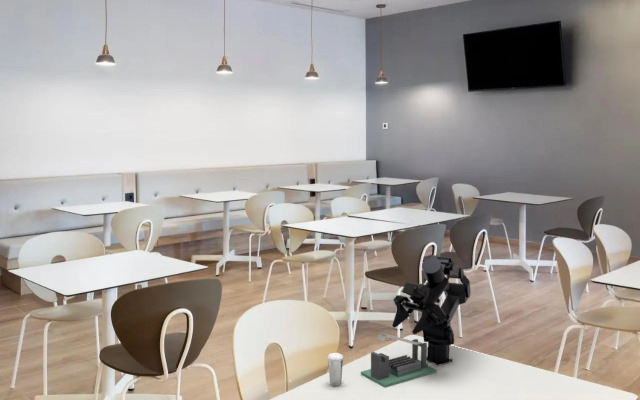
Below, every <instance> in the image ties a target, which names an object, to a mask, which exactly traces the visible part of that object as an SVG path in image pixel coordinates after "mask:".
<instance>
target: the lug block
mask: <svg viewBox="0 0 640 400" xmlns="http://www.w3.org/2000/svg"><path fill="white" fill-rule="evenodd" d="M389 360H390V356H389V355H386V354H384V353H382V352H380V353H377V352H375V351H372V352H370V369H371V376H372V377H374V378H376V379H378V380H380V379H384V378H387V377H389Z"/></svg>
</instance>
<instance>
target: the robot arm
mask: <svg viewBox="0 0 640 400" xmlns="http://www.w3.org/2000/svg"><path fill="white" fill-rule="evenodd" d="M421 268H422V271H423V275H424V277H425V280H426V281H427V282H425V284H423V283H419V284H418V285H417V284H414V283H411V282H407V281H406V282H405V283H404V286H403V289H402V291H401V293H403V294H406V295H409V298H408V297H407V296H405V295H401V294H398V295H396V296H395V297H394V298H393V301H392V302H394V305H395V306H396V310H395V311H396V312H395V314H394V315H395V316H394V319H393V322H392V325H391V326H392V327H393V328H394V329H395V328H397V327H398V326H399V325H401V324H402V323H403V322H405V321H406V320H407V319H408V318H410V317H411V313H413V312H414V311H417V312H420V313H421V316H420V318H419V320H418V321H417V323H416V325H415V326H414V328H413V330H411V333H412V334H413V335H417V334H419V333H421V332H422V337H423V343H427V362H430V363H432V364H434V365H437V366H441V365H444V364H448V363H451V362H453V360H454V359H453V358H450V346H452V345H454V344H455V332H454V330H453V328H452V325H451V321H452V319H453V318H454V315H455V314H456V312H457V310H458V308H459V306H460V305H464V304H466V303H467V301H468V300H469V298H471V294H472V293H471V283H470V282H471V281H470V280H469V278H468V277H467V276H466V274H465V272H464V268H463V267H461V266H458V265H457V264H456V262H455V260H454V259H453V257H451V256H439V255H437V254H436V255H435V254H434V255H433V254H431V255H430V257H429V258H427V259H425V260H424V261H423V262H422V263H421ZM450 279H455V280H457V279H459V281H460V282H461V283H457V282H450V281H449V280H450ZM443 293H444V296H445V299H444V301H443V302H442V304H441V306H440V305H439V303H440V302H441V300H440V297H441V296H442V295H443ZM411 301H412V302H411Z"/></svg>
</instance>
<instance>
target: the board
mask: <svg viewBox="0 0 640 400" xmlns="http://www.w3.org/2000/svg"><path fill="white" fill-rule="evenodd" d="M411 358H412V357H410V359H411ZM437 372H438V371H437V369H436V368H434V367H432V366H430V365H428V367H427V368H423V369H422V368H421V371H418V372H415V373H411V374H408V375H405V376H401V377H396V376H394V375H392V374H390V373H389V377H387V378H384V379H380V380H378V379H376V378H374V377H372V376H371V368H369V369H366V370H363V371H360V375H361V376H363V377H365V378H366V379H369V380H370V381H372V382H373V383H376V384H378V385H380V386H381V387H383V388H388V387H391V386H395V385H398V384H401V383H404V382H408V381H411V380H415V379H417V378H422V377H424V376H428V375H432V374H435V373H437Z"/></svg>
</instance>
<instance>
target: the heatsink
mask: <svg viewBox="0 0 640 400" xmlns="http://www.w3.org/2000/svg"><path fill="white" fill-rule="evenodd" d="M410 358H411V359H410ZM418 371H421V365H420V361H418V362H417V360H414V358H412V357H411V356H408V355H407V354H405V355H402V356H398V357H395V358H389V373H390V374H392V375H394V376H396V377H401V376H405V375H408V374H411V373H415V372H418Z"/></svg>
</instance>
